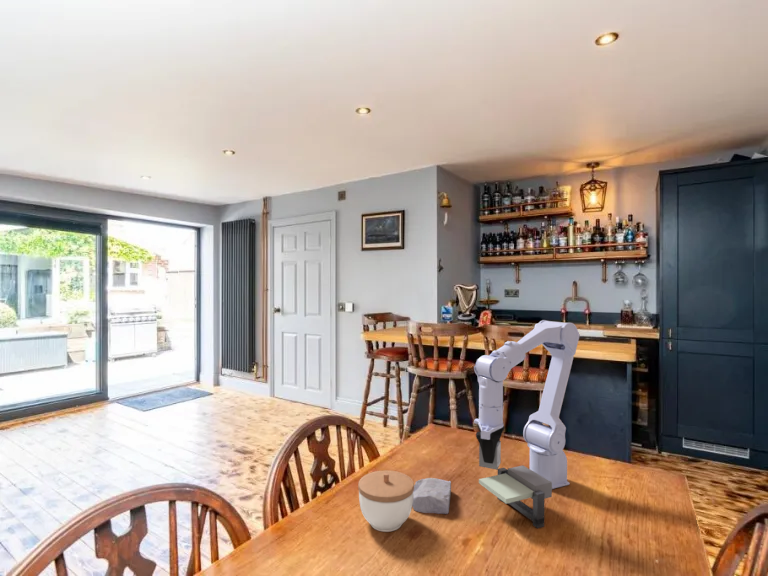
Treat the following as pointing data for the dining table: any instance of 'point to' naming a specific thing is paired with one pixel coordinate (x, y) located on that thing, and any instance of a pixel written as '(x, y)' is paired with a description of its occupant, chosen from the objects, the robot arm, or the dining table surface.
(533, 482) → the trapdoor
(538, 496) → the frame
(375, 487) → the lidded bowl
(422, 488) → the stone block
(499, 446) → the grey rectangular block
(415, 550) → the dining table surface
